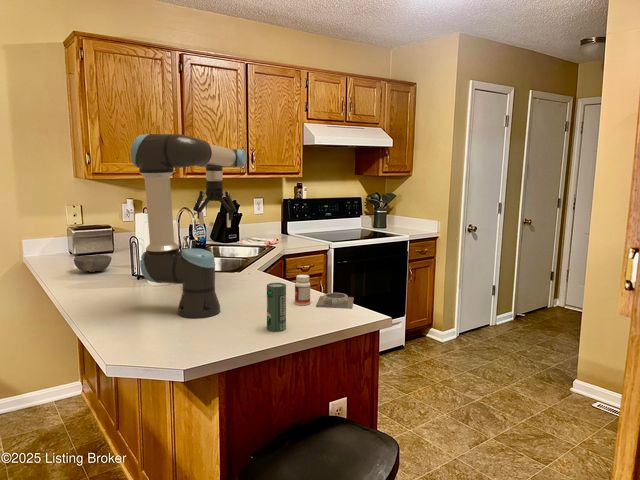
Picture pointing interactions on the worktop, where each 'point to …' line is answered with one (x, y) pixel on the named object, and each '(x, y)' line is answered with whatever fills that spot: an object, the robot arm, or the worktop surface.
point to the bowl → (92, 262)
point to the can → (276, 307)
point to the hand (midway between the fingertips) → (215, 226)
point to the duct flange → (335, 301)
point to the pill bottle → (302, 290)
